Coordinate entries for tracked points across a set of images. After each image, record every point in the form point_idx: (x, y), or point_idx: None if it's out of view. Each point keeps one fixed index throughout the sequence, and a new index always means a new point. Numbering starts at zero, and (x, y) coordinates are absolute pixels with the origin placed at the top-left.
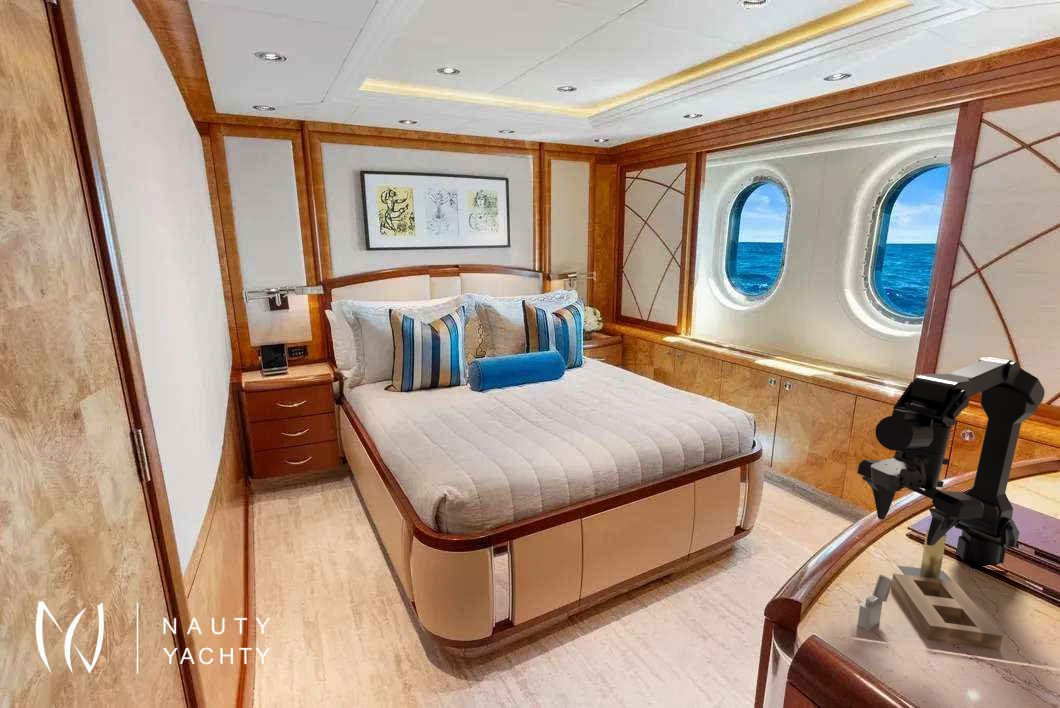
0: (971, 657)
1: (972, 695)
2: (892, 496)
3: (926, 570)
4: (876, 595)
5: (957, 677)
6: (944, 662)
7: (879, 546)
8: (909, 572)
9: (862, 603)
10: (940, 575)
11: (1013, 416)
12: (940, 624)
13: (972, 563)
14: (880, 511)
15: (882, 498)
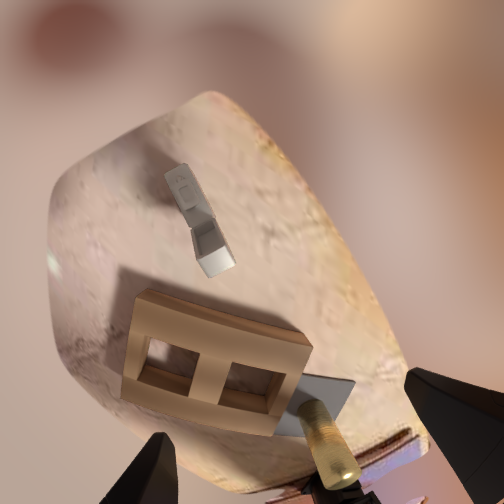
0: (114, 330)
1: (51, 262)
2: (460, 470)
3: (313, 414)
4: (214, 229)
5: (76, 270)
6: (102, 275)
7: None
8: (333, 390)
9: (189, 172)
10: None
11: None
12: (138, 320)
13: None
14: (433, 388)
15: (479, 428)
